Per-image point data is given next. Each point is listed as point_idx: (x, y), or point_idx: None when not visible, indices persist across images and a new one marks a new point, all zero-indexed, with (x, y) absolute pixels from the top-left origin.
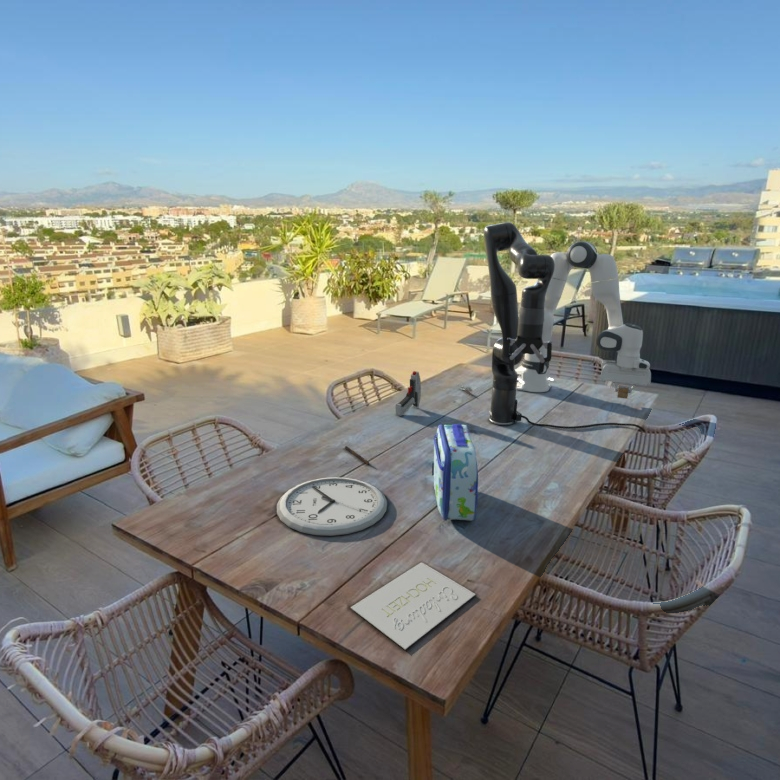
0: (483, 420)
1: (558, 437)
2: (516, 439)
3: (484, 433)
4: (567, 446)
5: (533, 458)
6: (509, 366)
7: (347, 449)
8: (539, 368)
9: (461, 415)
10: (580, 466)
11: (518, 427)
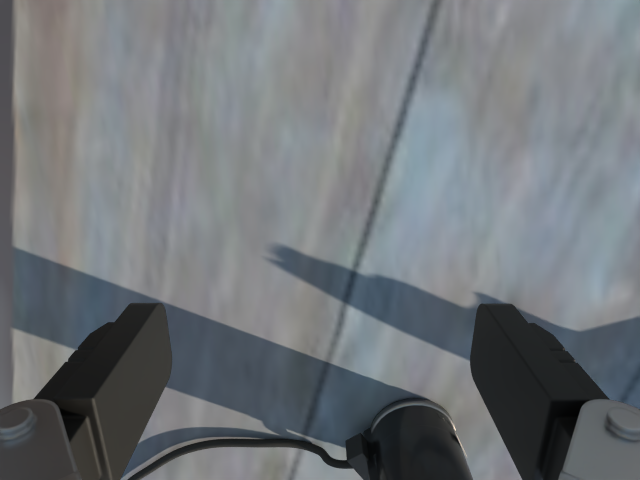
0: (473, 421)
1: (210, 370)
2: (344, 304)
3: (461, 315)
4: (169, 309)
5: (263, 160)
6: (556, 342)
7: None
8: (125, 339)
9: None
10: (95, 155)
11: (349, 404)
